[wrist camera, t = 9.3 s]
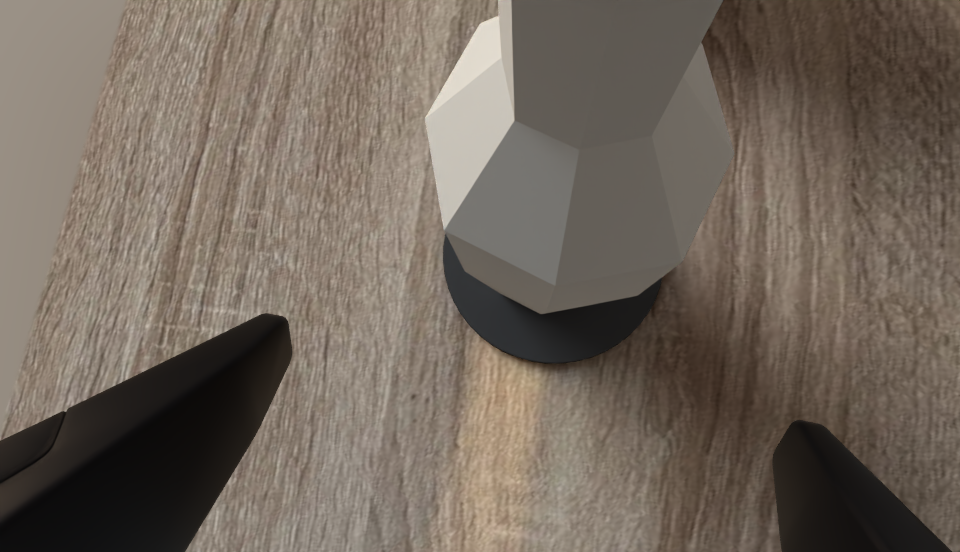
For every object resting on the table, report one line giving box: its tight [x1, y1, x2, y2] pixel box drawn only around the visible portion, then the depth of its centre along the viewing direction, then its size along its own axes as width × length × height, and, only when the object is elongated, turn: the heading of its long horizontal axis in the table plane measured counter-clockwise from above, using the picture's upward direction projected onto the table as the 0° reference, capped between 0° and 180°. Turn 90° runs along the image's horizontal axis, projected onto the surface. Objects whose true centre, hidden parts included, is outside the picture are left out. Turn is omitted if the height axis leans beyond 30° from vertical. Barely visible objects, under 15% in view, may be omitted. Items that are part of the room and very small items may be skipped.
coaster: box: [443, 233, 662, 363], centre depth 22 cm, size 9×9×1 cm
